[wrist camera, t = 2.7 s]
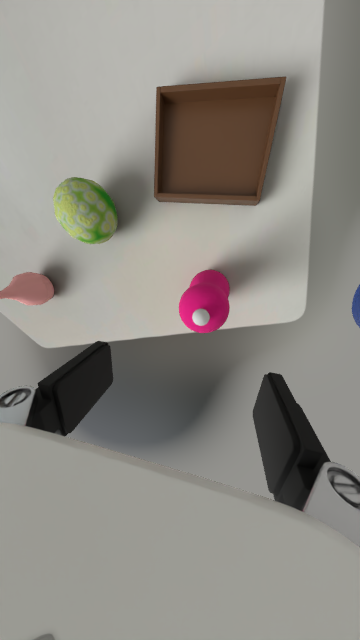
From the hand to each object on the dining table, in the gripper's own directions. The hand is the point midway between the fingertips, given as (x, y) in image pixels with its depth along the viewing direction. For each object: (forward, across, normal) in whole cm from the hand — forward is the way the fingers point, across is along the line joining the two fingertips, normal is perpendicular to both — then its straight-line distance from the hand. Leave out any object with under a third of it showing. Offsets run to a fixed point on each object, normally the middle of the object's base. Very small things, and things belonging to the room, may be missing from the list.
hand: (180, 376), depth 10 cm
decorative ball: (+28, +22, -12) cm, 38 cm away
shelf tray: (+28, +2, -22) cm, 35 cm away
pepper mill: (+28, 0, -1) cm, 28 cm away
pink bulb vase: (+28, +41, +4) cm, 49 cm away
